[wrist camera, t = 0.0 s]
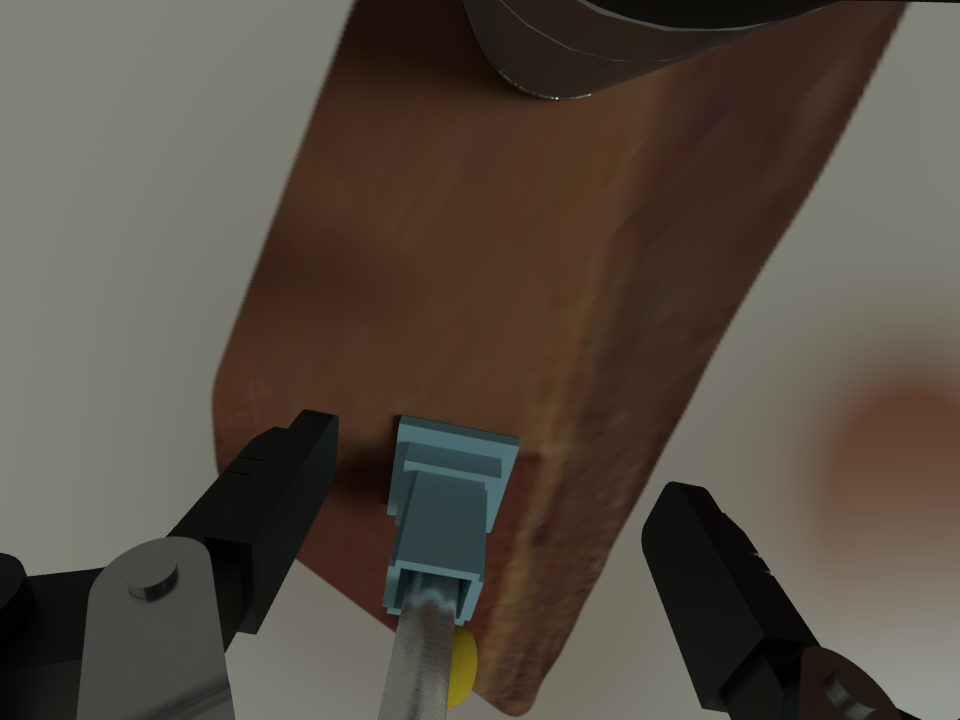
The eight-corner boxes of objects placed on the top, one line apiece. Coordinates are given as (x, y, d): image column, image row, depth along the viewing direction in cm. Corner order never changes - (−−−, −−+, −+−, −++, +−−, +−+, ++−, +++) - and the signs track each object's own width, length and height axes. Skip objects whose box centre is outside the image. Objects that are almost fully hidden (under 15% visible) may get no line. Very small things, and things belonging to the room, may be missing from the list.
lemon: (437, 635, 46) (426, 726, 39) (420, 607, 43) (404, 699, 36) (485, 630, 45) (482, 722, 38) (470, 601, 42) (464, 694, 35)
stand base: (402, 415, 31) (362, 528, 22) (518, 437, 31) (524, 557, 23) (389, 506, 36) (352, 627, 27) (490, 524, 36) (485, 649, 28)
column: (415, 449, 31) (222, 1157, 10) (493, 464, 31) (472, 1179, 10) (406, 503, 34) (243, 1135, 13) (477, 516, 34) (435, 1153, 13)
